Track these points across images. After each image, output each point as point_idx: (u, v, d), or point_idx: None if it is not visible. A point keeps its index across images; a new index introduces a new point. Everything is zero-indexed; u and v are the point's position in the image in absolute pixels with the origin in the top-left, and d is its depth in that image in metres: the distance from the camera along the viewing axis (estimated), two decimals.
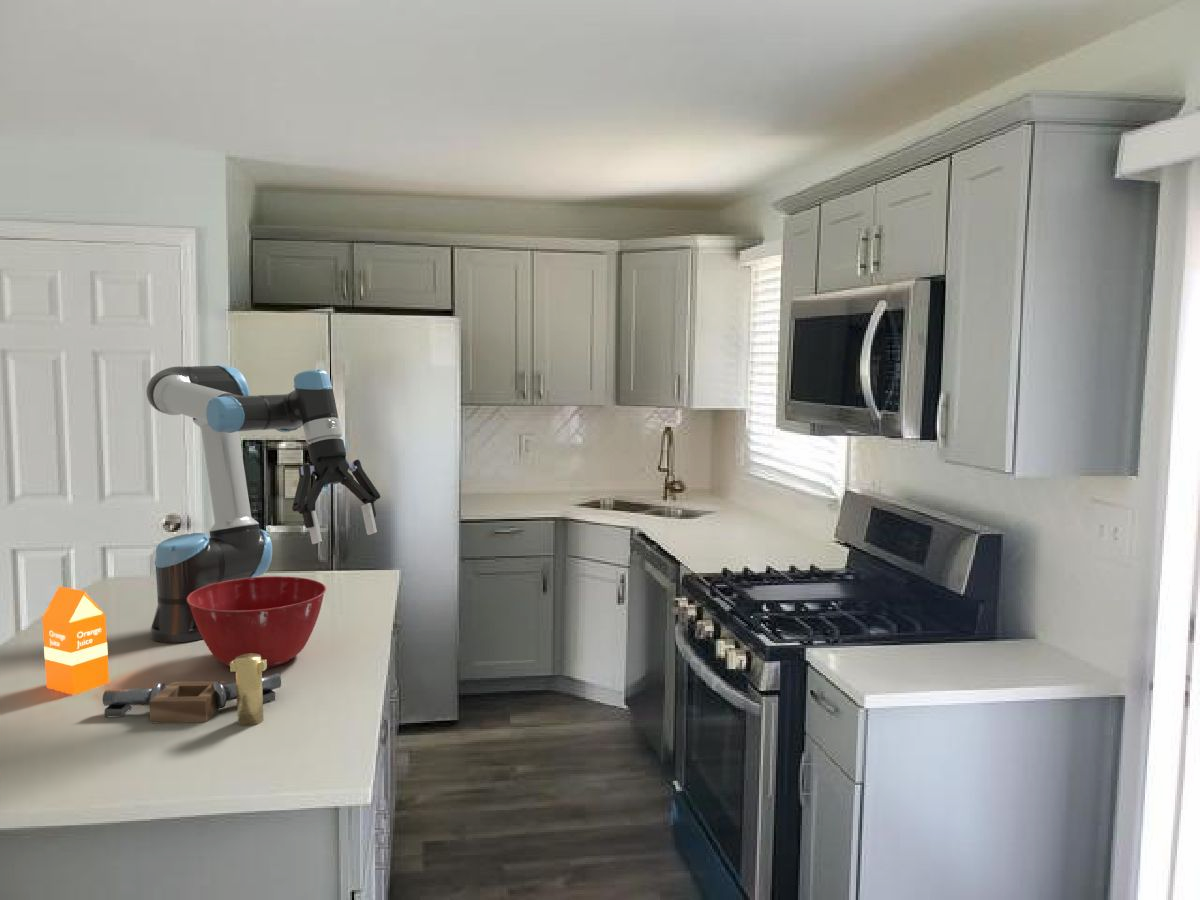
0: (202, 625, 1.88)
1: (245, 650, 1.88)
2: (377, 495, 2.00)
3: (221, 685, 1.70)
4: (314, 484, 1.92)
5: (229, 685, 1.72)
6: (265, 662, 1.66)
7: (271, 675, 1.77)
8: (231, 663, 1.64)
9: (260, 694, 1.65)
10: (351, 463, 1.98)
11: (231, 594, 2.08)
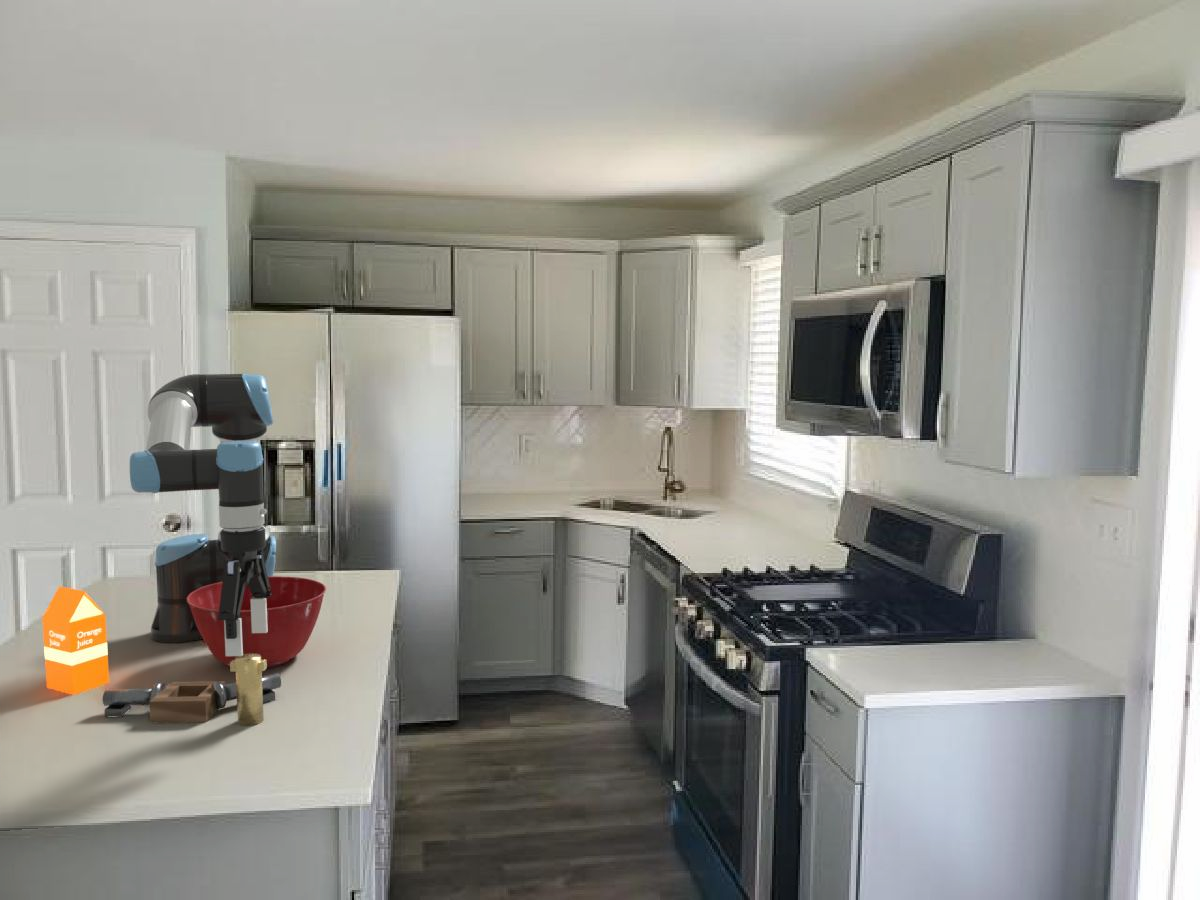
0: (202, 625, 1.88)
1: (245, 650, 1.88)
2: (269, 587, 1.73)
3: (221, 685, 1.70)
4: None
5: (229, 685, 1.72)
6: (265, 662, 1.66)
7: (271, 675, 1.77)
8: (231, 663, 1.64)
9: (260, 694, 1.65)
10: (255, 551, 1.68)
11: None
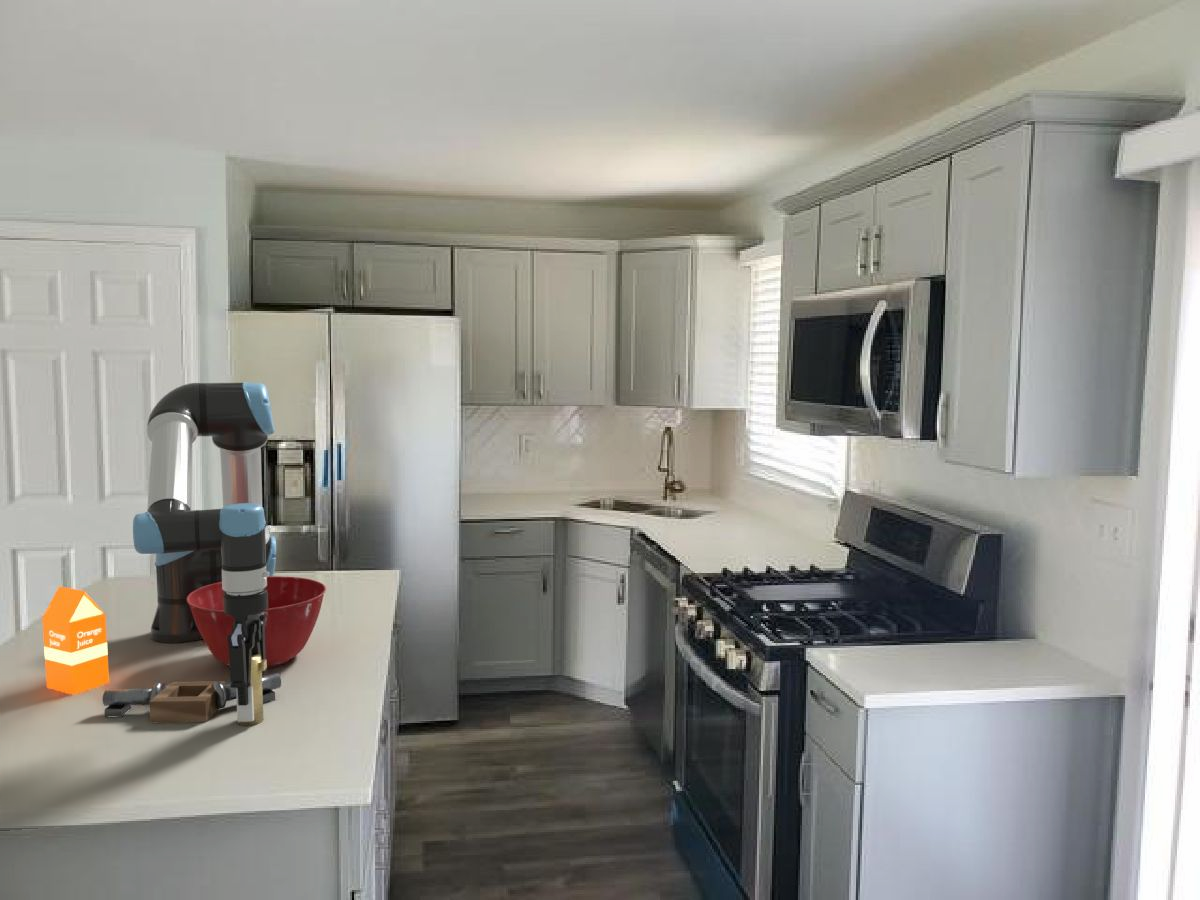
0: (202, 625, 1.88)
1: None
2: None
3: (221, 685, 1.70)
4: None
5: (229, 685, 1.72)
6: (265, 662, 1.66)
7: (271, 675, 1.77)
8: None
9: (260, 694, 1.66)
10: None
11: None
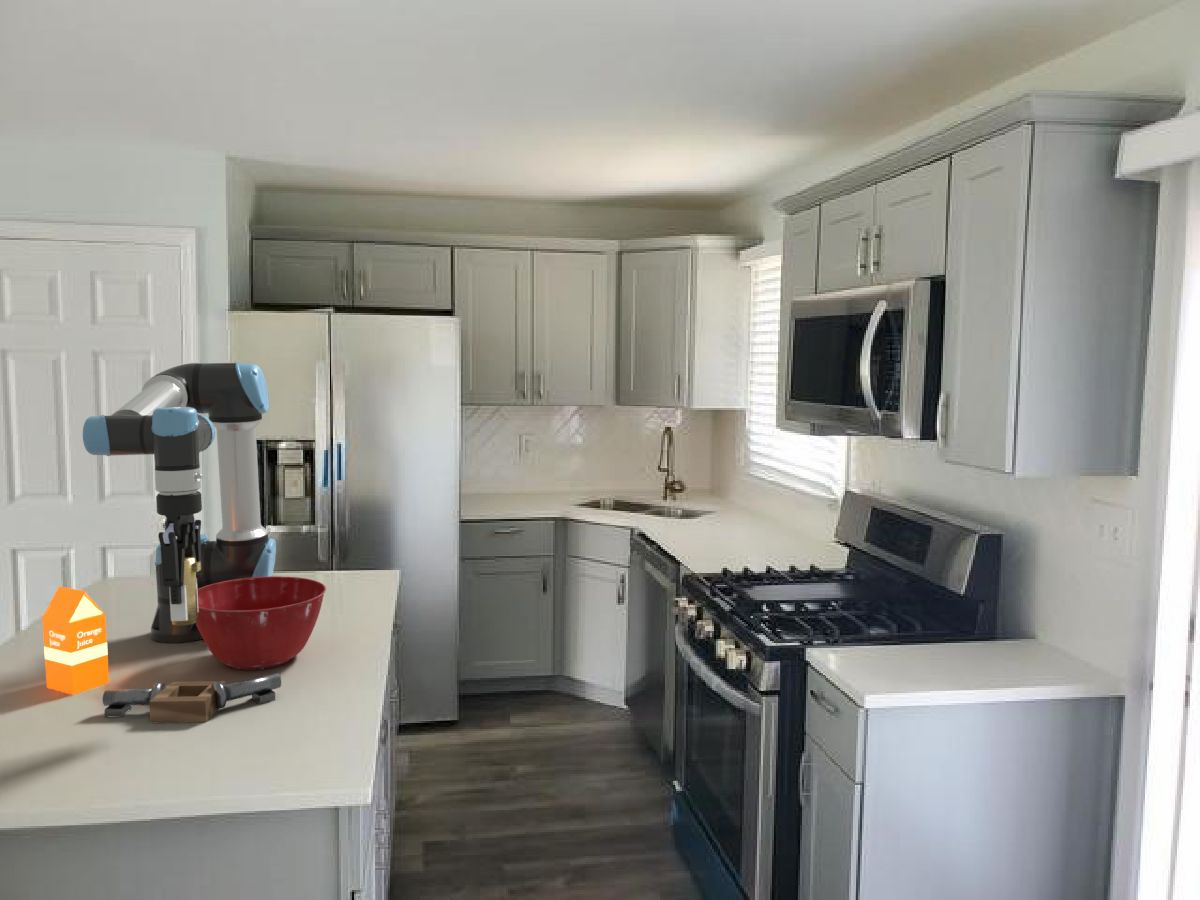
0: (202, 625, 1.88)
1: (245, 650, 1.88)
2: None
3: (221, 685, 1.70)
4: None
5: (229, 685, 1.72)
6: (199, 563, 1.68)
7: (271, 675, 1.77)
8: None
9: (194, 595, 1.68)
10: (193, 521, 1.72)
11: (231, 594, 2.08)
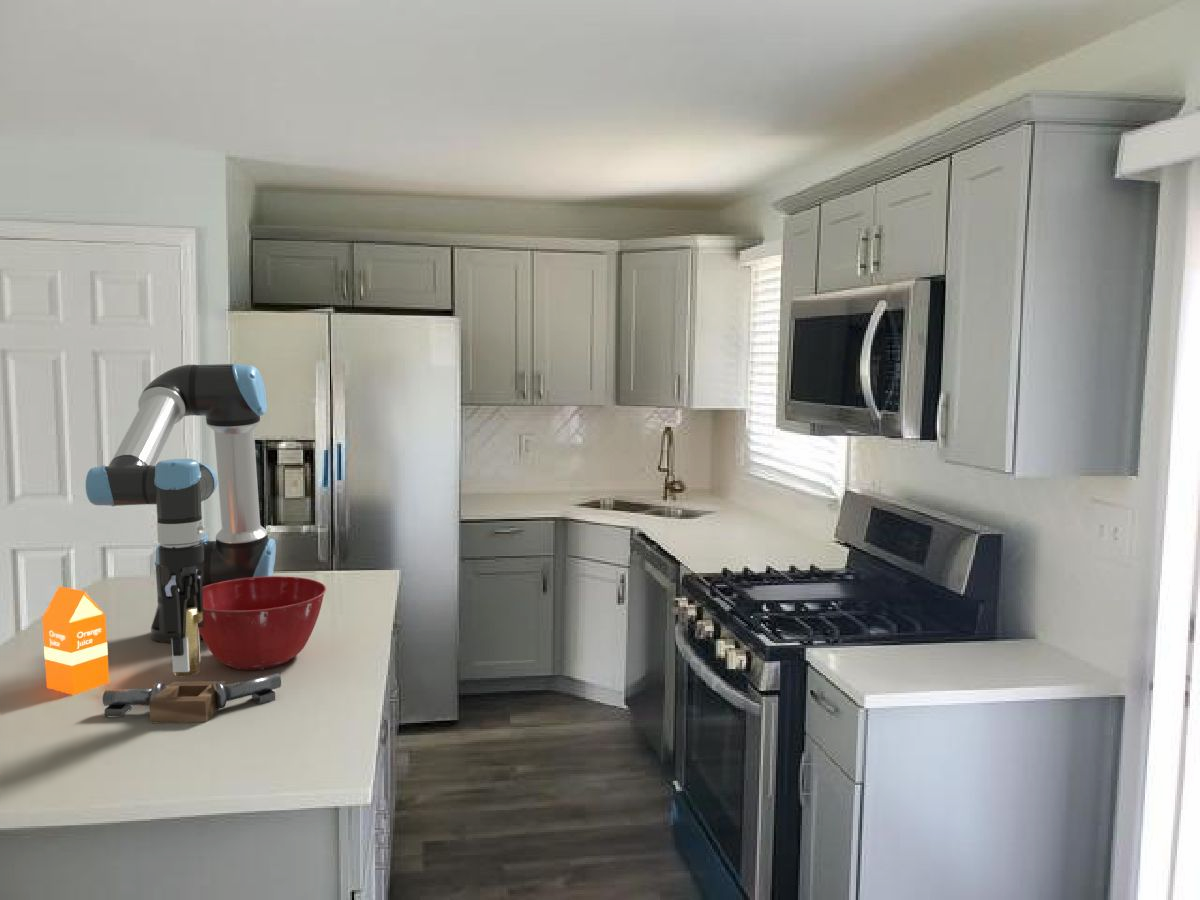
0: None
1: (245, 650, 1.88)
2: None
3: (221, 685, 1.70)
4: None
5: (229, 685, 1.72)
6: (201, 614, 1.69)
7: (271, 675, 1.77)
8: None
9: (196, 645, 1.69)
10: (195, 571, 1.73)
11: (231, 594, 2.08)
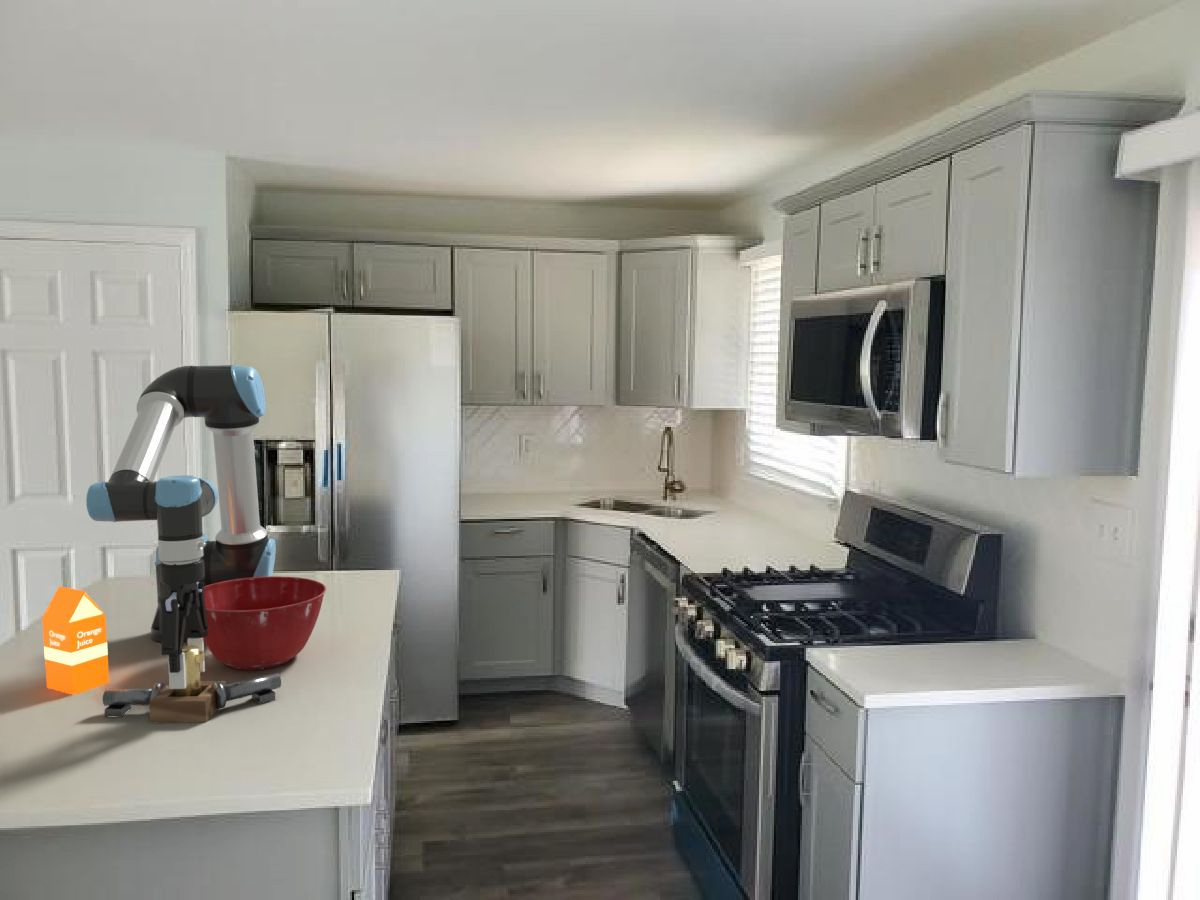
0: None
1: (245, 650, 1.88)
2: (206, 626, 1.76)
3: (221, 685, 1.70)
4: None
5: (229, 685, 1.72)
6: (203, 654, 1.70)
7: (271, 675, 1.77)
8: None
9: (198, 685, 1.70)
10: (196, 585, 1.74)
11: (231, 594, 2.08)
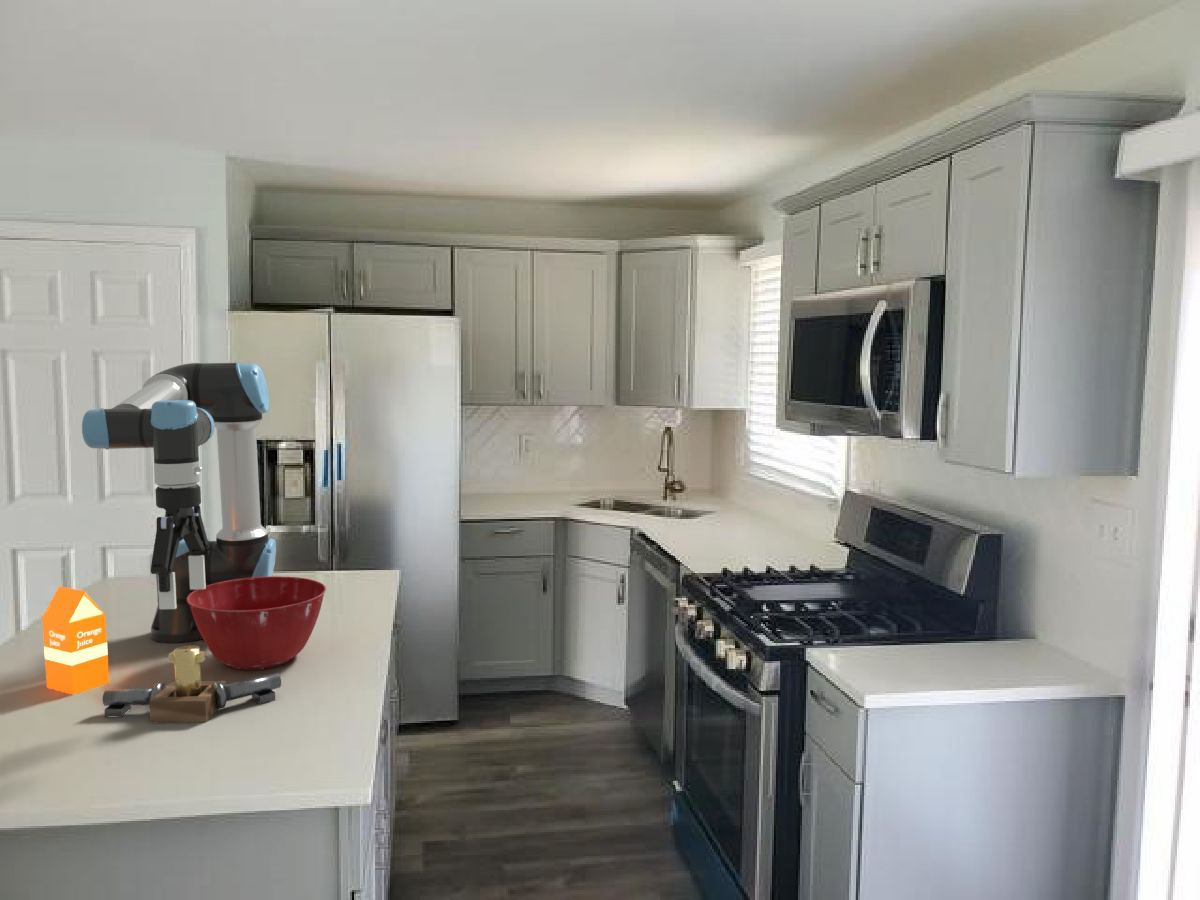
0: (202, 625, 1.88)
1: (245, 650, 1.88)
2: (207, 545, 1.77)
3: (221, 685, 1.70)
4: None
5: (229, 685, 1.72)
6: (203, 654, 1.70)
7: (271, 675, 1.77)
8: (169, 655, 1.69)
9: (198, 685, 1.70)
10: (192, 509, 1.72)
11: (231, 594, 2.08)
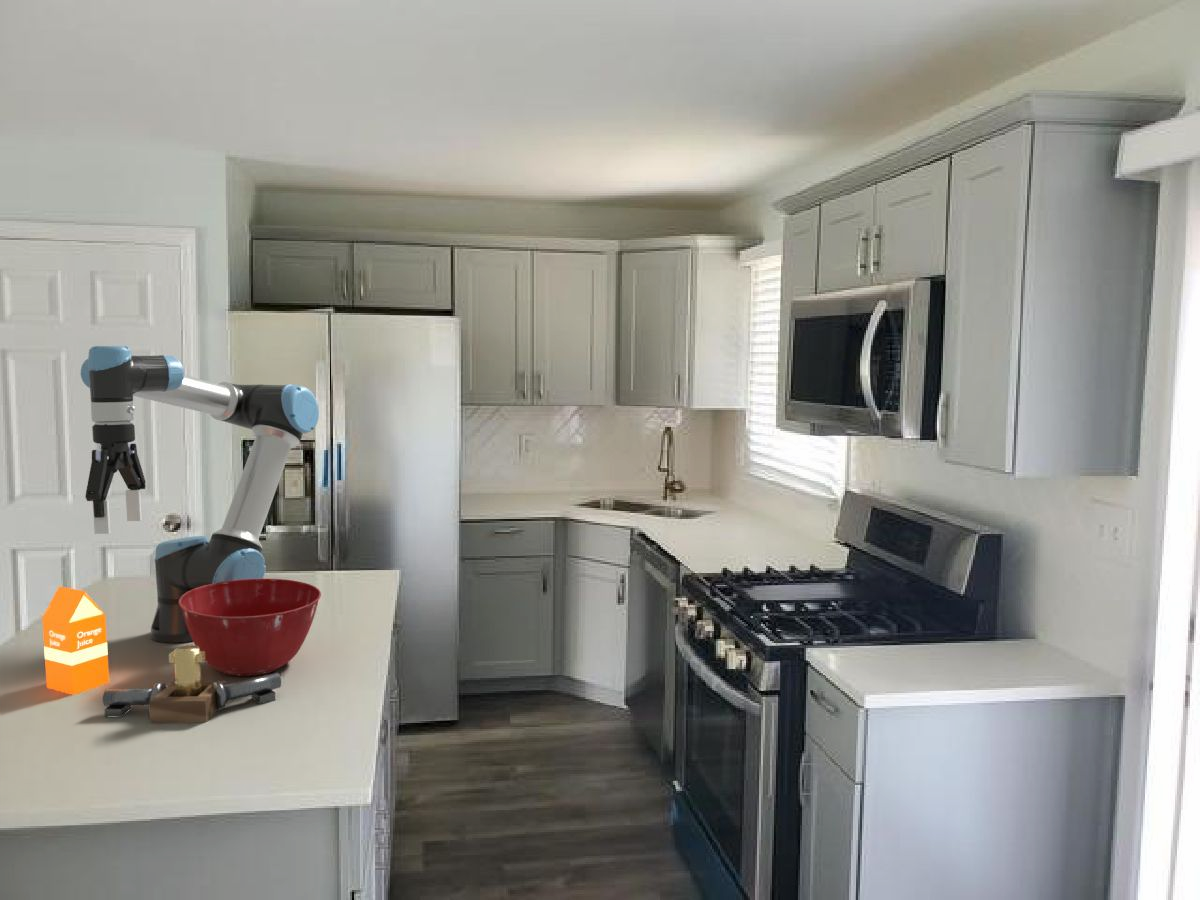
0: (207, 633, 1.82)
1: (255, 656, 1.85)
2: (144, 481, 1.94)
3: (221, 685, 1.70)
4: None
5: (229, 685, 1.72)
6: (203, 653, 1.70)
7: (271, 675, 1.77)
8: (169, 655, 1.69)
9: (198, 685, 1.70)
10: (128, 447, 1.89)
11: (207, 600, 2.00)
